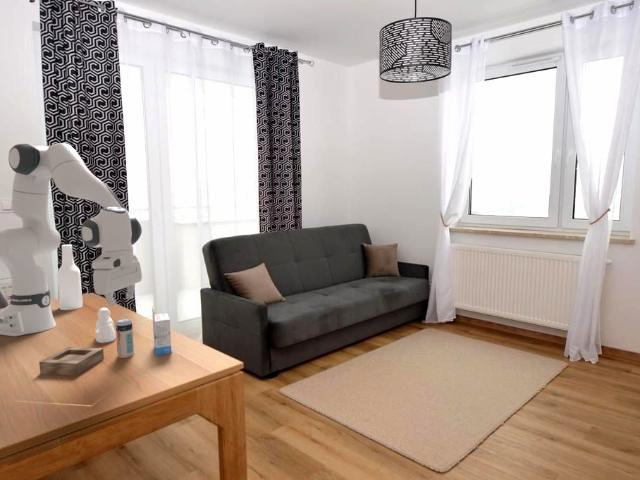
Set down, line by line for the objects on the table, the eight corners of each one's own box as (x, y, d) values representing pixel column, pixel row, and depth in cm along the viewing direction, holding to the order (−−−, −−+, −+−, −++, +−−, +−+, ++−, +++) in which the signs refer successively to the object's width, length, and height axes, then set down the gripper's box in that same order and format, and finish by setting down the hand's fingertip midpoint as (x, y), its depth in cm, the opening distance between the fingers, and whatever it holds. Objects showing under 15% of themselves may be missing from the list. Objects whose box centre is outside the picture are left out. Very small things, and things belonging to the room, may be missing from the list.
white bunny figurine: (97, 347, 146) (95, 312, 145) (94, 340, 153) (92, 307, 152) (117, 343, 150) (115, 309, 148) (114, 336, 157) (111, 304, 156)
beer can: (121, 353, 140) (118, 318, 138) (136, 353, 140) (134, 317, 139) (115, 359, 135) (113, 322, 134) (131, 359, 135) (128, 322, 134)
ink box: (172, 354, 139) (170, 310, 137) (156, 356, 137) (153, 312, 135) (169, 345, 147) (167, 304, 145) (153, 348, 145) (151, 306, 143)
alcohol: (67, 315, 185) (61, 246, 182) (56, 312, 190) (50, 245, 187) (87, 310, 193) (82, 244, 189) (76, 307, 197) (71, 243, 194)
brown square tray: (40, 375, 125) (39, 361, 124) (69, 359, 136) (68, 347, 136) (78, 377, 123) (77, 363, 123) (104, 361, 135) (103, 348, 134)
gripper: (127, 254, 144) (130, 294, 146) (87, 264, 124) (91, 310, 126) (145, 254, 143) (148, 294, 145) (107, 264, 123) (111, 310, 125)
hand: (121, 302), depth 135 cm, fingers open, 8 cm apart
